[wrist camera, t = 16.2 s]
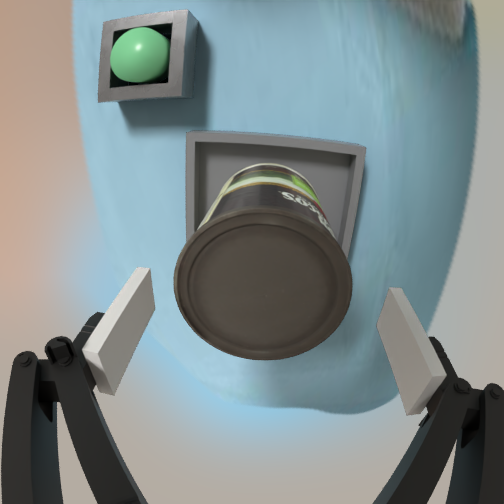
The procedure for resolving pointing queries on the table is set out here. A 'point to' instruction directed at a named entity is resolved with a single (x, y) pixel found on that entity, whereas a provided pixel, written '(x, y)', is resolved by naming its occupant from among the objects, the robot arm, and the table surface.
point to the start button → (141, 56)
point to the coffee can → (264, 268)
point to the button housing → (179, 66)
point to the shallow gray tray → (279, 152)
